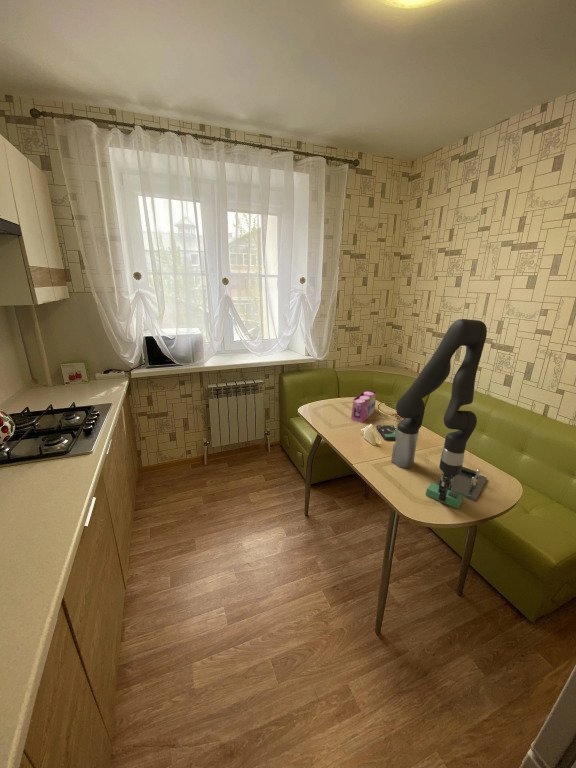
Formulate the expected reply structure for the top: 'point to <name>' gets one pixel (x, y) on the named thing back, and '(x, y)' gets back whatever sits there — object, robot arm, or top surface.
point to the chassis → (468, 483)
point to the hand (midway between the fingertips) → (444, 496)
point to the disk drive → (387, 432)
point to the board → (451, 497)
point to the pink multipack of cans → (363, 406)
